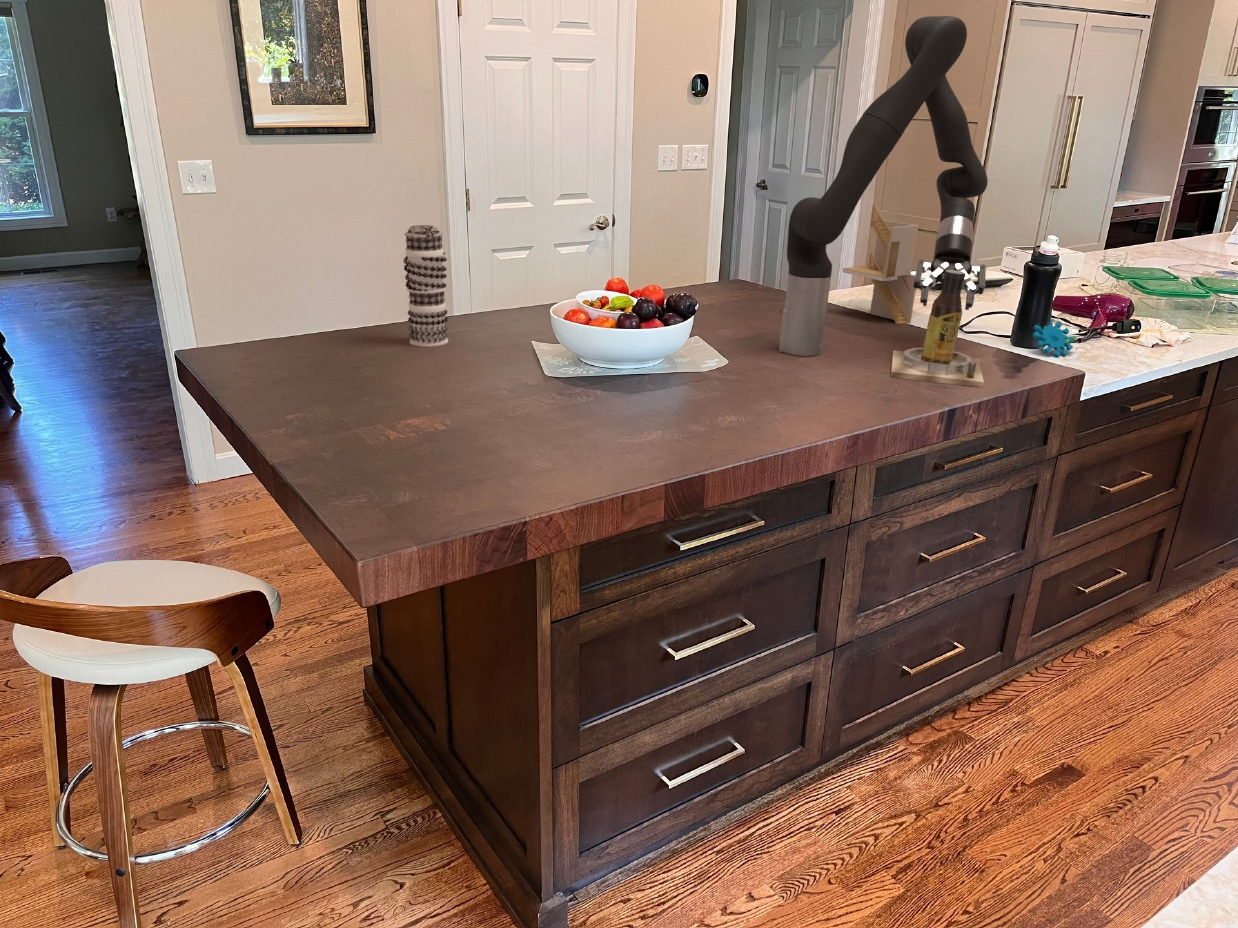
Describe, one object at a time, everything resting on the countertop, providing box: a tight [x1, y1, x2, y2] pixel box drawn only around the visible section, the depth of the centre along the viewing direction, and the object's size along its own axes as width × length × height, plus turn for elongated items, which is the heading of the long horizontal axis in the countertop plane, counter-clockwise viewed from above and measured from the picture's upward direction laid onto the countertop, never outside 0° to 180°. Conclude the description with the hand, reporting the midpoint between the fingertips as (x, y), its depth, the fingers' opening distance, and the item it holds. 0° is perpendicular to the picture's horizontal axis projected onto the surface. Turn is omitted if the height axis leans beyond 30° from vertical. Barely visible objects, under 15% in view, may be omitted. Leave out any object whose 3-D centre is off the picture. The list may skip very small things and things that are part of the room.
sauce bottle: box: [921, 270, 966, 364], centre depth 185 cm, size 7×6×20 cm
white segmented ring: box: [903, 347, 976, 378], centre depth 188 cm, size 14×14×3 cm
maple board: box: [890, 350, 985, 388], centre depth 189 cm, size 18×18×1 cm
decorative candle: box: [403, 224, 449, 348], centre depth 193 cm, size 9×9×25 cm
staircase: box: [842, 203, 919, 325], centre depth 228 cm, size 10×16×29 cm, turn 35°
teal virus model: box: [1032, 317, 1078, 358], centre depth 207 cm, size 11×6×10 cm
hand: (946, 306), depth 187 cm, fingers open, 8 cm apart
